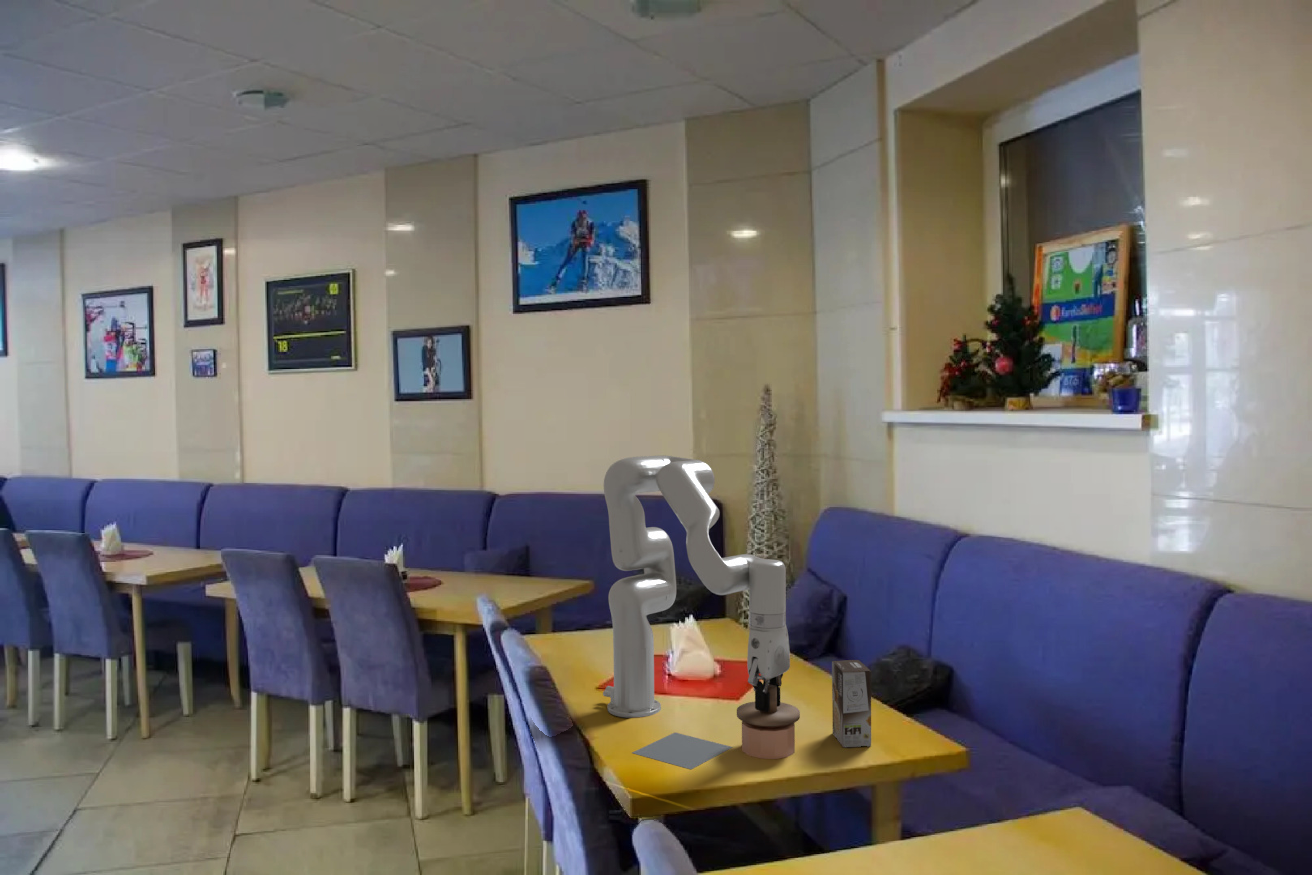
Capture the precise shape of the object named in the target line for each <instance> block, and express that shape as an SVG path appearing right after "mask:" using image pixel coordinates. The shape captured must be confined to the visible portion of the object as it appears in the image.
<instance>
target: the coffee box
mask: <svg viewBox="0 0 1312 875" xmlns="http://www.w3.org/2000/svg"><path fill="white" fill-rule="evenodd" d="M831 687H832V688H831V689H832V690H831V691H832V700H831V701H832V734H833V736H834V737H835V739H836V738H837V739H836V740H837V742H839V744H840V745H841V746H842V747H843V748H858V747H859V748H861V746H867V747H871V746H872V670H870V668H868V667H867V666H866V665H865V664H864V663H863V662H862V661H861V660H859V659H848V660H847V659H846V660H832V661H831Z"/></svg>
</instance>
